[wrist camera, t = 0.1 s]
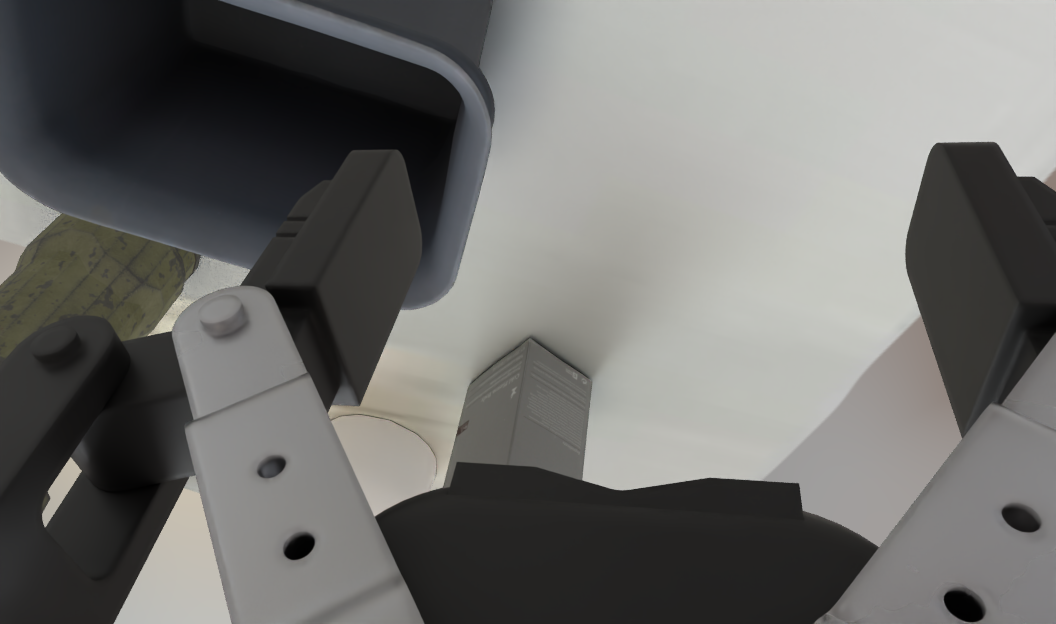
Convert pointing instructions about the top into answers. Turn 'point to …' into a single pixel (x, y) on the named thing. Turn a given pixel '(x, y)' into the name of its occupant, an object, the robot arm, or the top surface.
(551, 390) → the cosmetic box
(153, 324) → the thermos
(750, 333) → the top surface
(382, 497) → the teardrop
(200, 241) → the storage bin
